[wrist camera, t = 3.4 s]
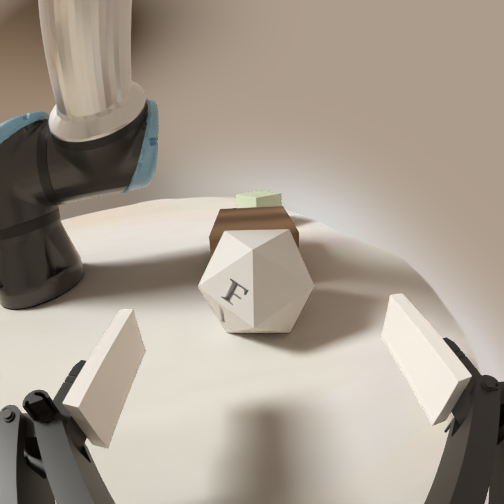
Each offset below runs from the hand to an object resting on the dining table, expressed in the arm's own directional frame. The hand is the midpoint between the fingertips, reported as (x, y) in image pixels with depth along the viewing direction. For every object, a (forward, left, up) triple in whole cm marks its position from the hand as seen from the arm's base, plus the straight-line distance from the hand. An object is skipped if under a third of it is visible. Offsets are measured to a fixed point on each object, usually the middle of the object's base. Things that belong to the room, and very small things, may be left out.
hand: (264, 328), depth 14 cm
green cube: (-36, +20, -6) cm, 42 cm away
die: (-8, +4, -6) cm, 11 cm away
